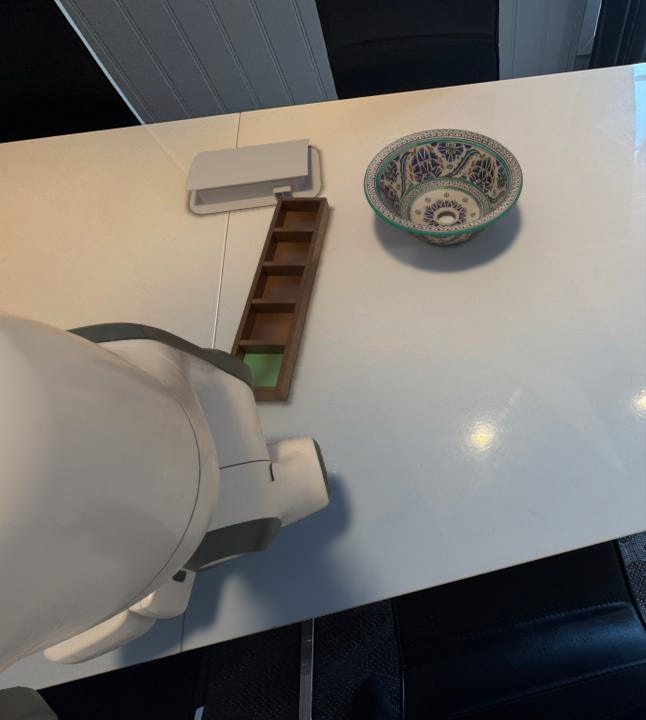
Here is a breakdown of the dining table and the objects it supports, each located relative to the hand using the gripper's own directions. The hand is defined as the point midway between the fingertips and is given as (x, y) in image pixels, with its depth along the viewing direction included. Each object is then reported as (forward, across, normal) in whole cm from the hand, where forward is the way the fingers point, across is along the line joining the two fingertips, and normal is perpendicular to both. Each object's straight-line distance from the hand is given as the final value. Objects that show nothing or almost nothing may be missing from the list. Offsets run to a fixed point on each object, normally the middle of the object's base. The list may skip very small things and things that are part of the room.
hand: (10, 569), depth 48 cm
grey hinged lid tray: (-26, -64, +11) cm, 70 cm away
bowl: (-56, -42, +11) cm, 70 cm away
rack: (-27, -35, +11) cm, 46 cm away
